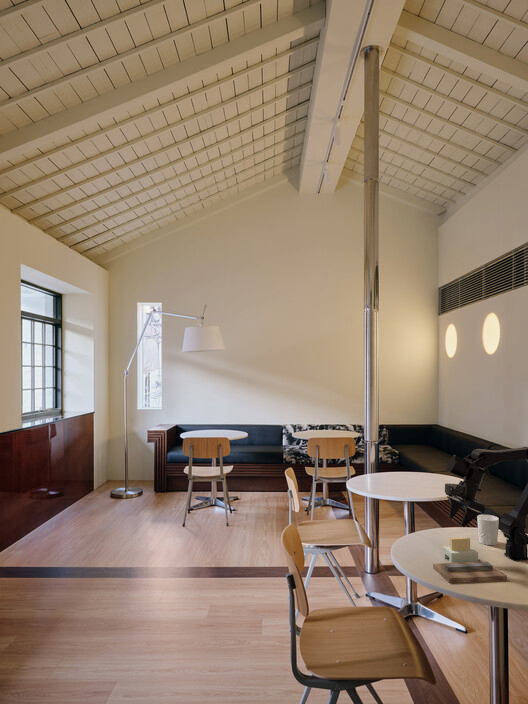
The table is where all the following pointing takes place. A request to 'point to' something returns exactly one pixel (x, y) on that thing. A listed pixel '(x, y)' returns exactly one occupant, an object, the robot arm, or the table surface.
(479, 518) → the white cup
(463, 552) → the sage block
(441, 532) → the table surface
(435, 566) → the board
